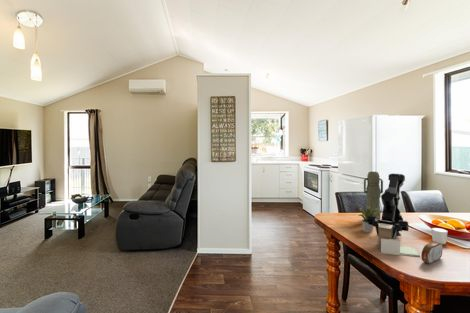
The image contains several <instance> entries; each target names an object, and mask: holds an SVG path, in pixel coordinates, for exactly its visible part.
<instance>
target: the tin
mask: <svg viewBox="0 0 470 313" xmlns="http://www.w3.org/2000/svg"><path fill="white" fill-rule="evenodd" d="M443 248H444V244H441V243H439V242H436V241H433V240H432V241H431V242H429V243H426V244H424V245H423V248H422V250H421V255H420V258H421V261H422V262H425V263H428V264H433V263H435V262H436V261H439V260H440V259H441V257H442V256H443Z"/></svg>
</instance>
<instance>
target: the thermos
mask: <svg viewBox="0 0 470 313" xmlns="http://www.w3.org/2000/svg"><path fill="white" fill-rule="evenodd" d="M366 175H367V176H366V178H364V179H363V192H364V193H365V195H366V206H367V208H368V207H369V206H370V208H371V210H370V211H373V210H374V209H376V208H378V209H376V210H377V211H375V212H376V214H375V212H374V213H373V214H374V215H375V216H377V217H376V219H379V220H381V215H382V212H381V209H380V206H381V204H380V203H381V201H380V198H381V195H382V194H383V193H384V180H383V179H382V178H380V173H379V172H378V171H368V173H367V174H366ZM366 182H367V183H366ZM367 208H366V210H365V211H367ZM371 213H372V212H370V214H371ZM373 214H372V215H373ZM378 216H379V218H378Z"/></svg>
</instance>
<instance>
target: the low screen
mask: <svg viewBox="0 0 470 313" xmlns="http://www.w3.org/2000/svg"><path fill="white" fill-rule="evenodd" d="M400 246H401V240H399V239H393V240H392V239H382V238H381V250H380V253H381V254H387V255H395V256H400Z"/></svg>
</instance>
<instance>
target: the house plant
mask: <svg viewBox="0 0 470 313" xmlns="http://www.w3.org/2000/svg"><path fill="white" fill-rule="evenodd" d="M365 207H366V210H367V211H366V210H364V209H363V208H362V207H361V206H359V208H358V210H359V211H360V212H361V214H358V215H357V217H360V216H361V217H362V218H363V219H361V223H362V229H363V231H364V232H367V233H372V232H373V230H374V226H373V225H369V224H368V222H367V217H368V216H375V215H374V214H373V213H374V212H375V211H377V210H376V209H378V208H376V209H374V210H373V211H370V210H371V208H370V206H369V207H368V208H367V205H365ZM370 212H372V213H371V214H370ZM372 214H373V215H372ZM375 214H376V212H375ZM375 217H377V216H375ZM378 218H379V216H378Z"/></svg>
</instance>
